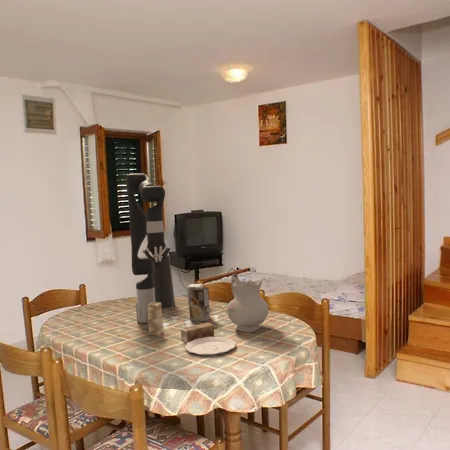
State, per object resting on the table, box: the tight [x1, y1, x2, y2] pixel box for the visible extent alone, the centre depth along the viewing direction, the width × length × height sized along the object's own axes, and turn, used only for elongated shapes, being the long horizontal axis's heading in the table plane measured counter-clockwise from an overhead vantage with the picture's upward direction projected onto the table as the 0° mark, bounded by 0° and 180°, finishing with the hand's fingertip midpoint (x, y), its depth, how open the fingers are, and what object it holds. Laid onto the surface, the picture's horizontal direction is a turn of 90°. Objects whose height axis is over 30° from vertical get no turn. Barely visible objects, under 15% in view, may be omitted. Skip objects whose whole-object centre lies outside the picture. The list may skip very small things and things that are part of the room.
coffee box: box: [187, 286, 211, 322], centre depth 232 cm, size 9×6×16 cm
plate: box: [184, 336, 237, 356], centre depth 189 cm, size 21×21×2 cm
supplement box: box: [186, 283, 205, 307], centre depth 257 cm, size 7×7×13 cm
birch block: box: [147, 302, 164, 336], centre depth 213 cm, size 5×5×14 cm
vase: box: [151, 254, 176, 309], centre depth 266 cm, size 14×14×29 cm
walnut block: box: [180, 322, 215, 344], centre depth 203 cm, size 5×5×14 cm
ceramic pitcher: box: [226, 273, 269, 333], centre depth 214 cm, size 22×20×25 cm
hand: (157, 269), depth 204 cm, fingers closed
